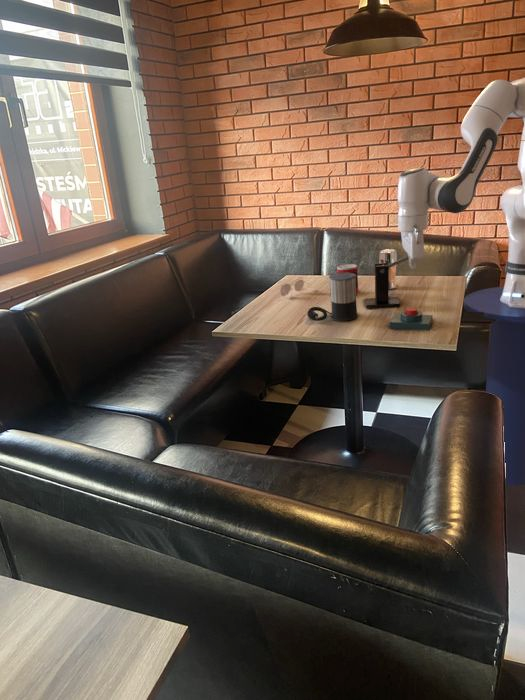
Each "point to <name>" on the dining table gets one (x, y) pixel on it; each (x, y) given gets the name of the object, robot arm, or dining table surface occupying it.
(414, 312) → the button
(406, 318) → the button box
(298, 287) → the sunglasses
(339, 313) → the milk frother
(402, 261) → the lever
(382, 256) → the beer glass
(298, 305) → the dining table surface
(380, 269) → the bracket
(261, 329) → the dining table surface
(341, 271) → the canned food
